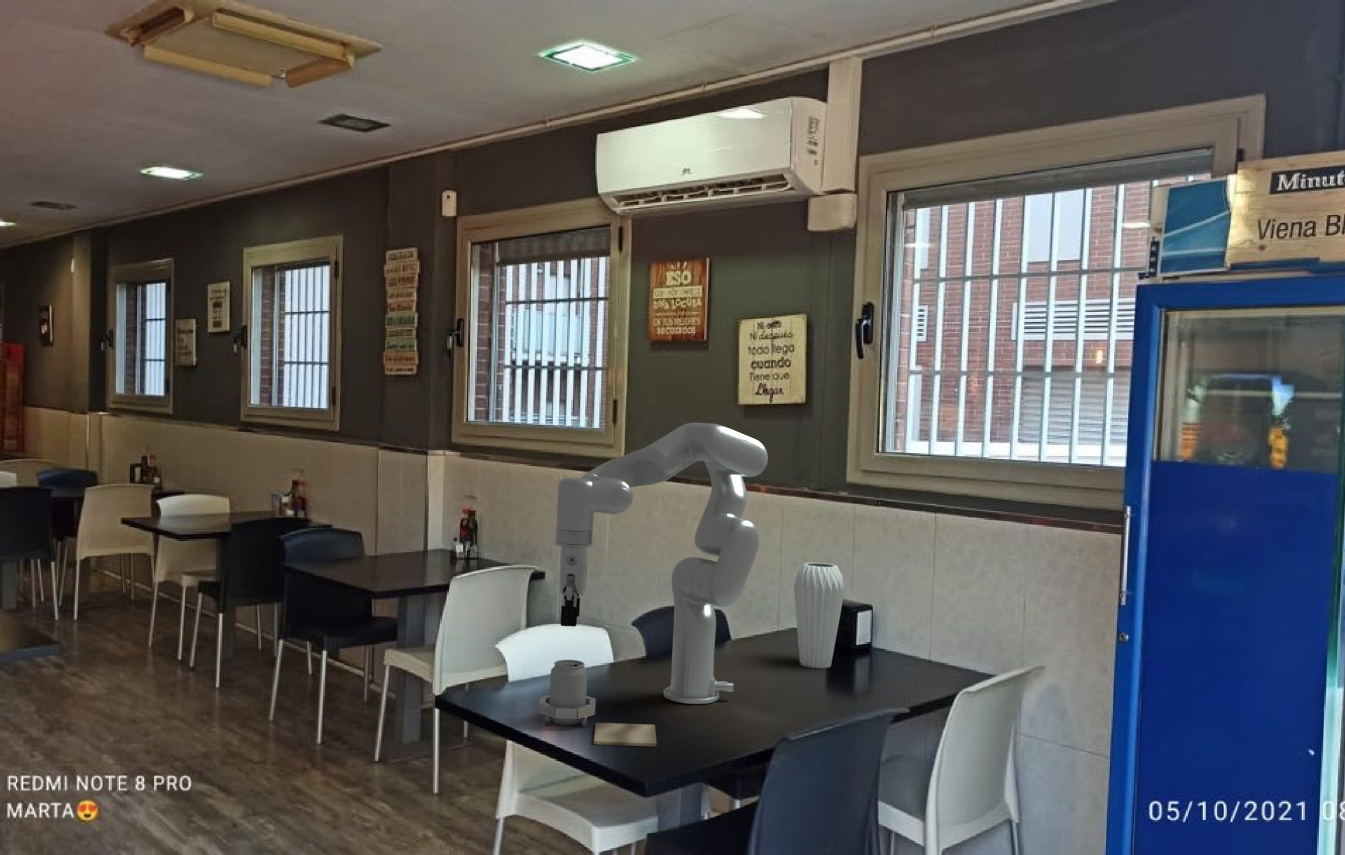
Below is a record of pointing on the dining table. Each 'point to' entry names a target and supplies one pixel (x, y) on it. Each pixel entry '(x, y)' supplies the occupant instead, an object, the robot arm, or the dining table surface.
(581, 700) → the can
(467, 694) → the dining table surface
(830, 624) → the vase
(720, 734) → the dining table surface
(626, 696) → the dining table surface
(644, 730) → the cork pad
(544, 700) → the ring stand
